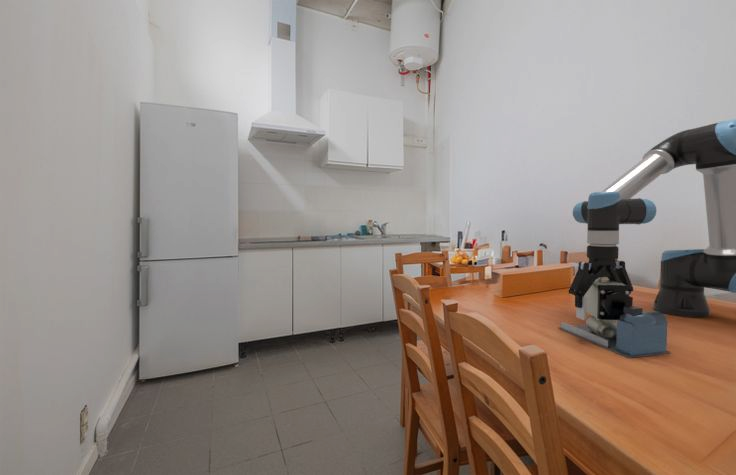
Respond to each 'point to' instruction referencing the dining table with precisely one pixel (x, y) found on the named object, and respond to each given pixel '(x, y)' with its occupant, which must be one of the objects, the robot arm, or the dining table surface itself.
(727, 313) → the dining table surface
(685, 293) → the robot arm
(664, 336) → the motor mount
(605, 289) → the ball valve
